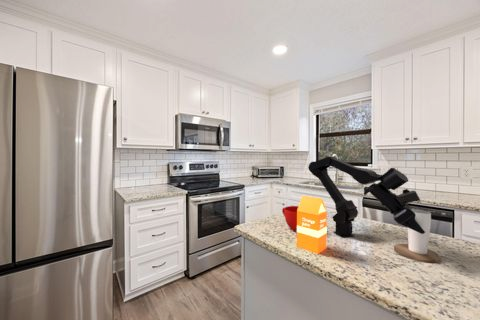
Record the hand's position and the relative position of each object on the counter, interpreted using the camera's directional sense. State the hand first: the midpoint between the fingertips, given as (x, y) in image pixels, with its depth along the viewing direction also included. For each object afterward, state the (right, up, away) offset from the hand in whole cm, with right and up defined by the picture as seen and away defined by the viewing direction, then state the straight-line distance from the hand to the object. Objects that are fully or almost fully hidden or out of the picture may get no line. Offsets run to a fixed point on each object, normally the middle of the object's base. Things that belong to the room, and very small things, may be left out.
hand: (421, 229), depth 75 cm
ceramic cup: (-39, -9, +28) cm, 49 cm away
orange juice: (-38, -9, +6) cm, 40 cm away
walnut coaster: (-1, -9, +1) cm, 10 cm away
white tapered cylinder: (-1, -9, 0) cm, 9 cm away
